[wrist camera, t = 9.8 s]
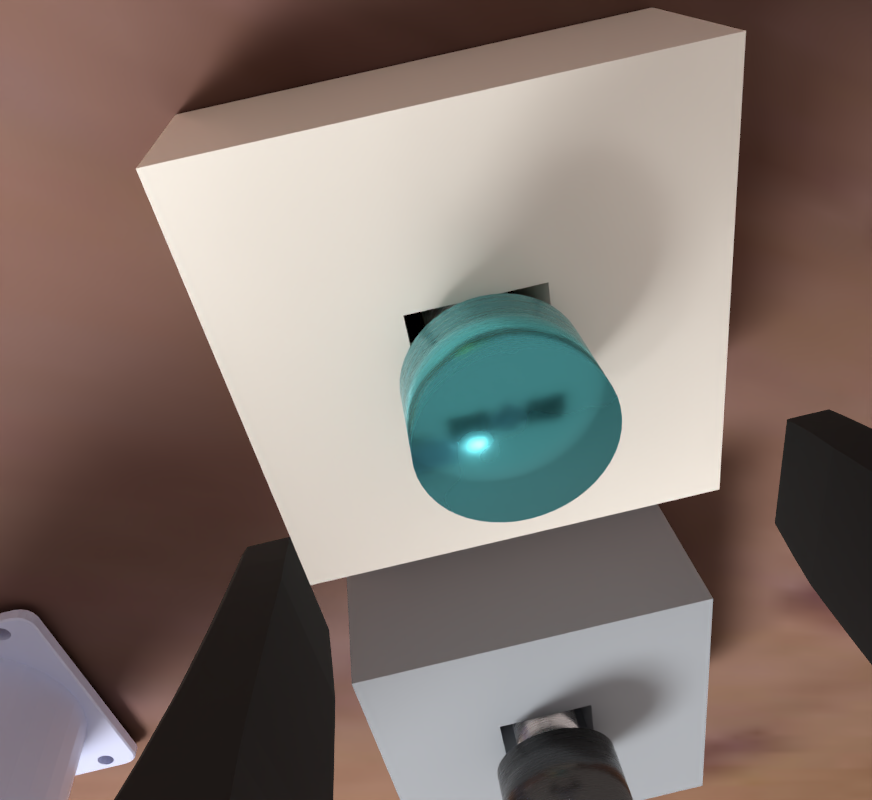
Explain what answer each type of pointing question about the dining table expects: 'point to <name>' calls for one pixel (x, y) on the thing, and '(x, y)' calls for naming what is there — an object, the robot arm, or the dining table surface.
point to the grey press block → (536, 654)
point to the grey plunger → (561, 762)
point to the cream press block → (464, 259)
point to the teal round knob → (506, 409)
